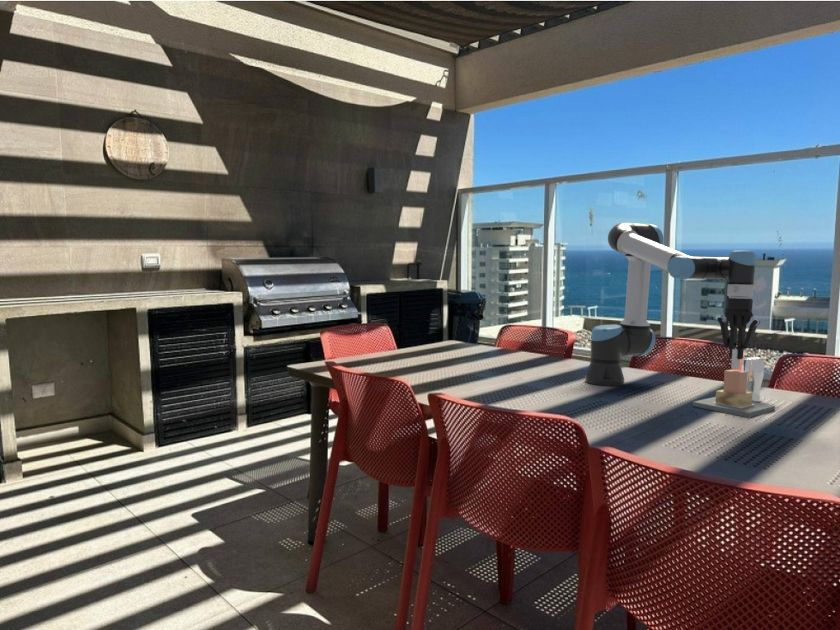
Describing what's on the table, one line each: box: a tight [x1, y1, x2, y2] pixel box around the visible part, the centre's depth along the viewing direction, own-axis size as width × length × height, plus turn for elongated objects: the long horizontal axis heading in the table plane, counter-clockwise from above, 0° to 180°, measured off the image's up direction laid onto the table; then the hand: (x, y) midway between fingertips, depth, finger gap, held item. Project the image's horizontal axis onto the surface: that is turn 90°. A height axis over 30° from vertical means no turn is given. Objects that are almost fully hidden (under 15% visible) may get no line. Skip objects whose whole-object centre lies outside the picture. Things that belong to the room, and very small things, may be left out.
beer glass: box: [740, 356, 765, 403], centre depth 202 cm, size 7×7×15 cm
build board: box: [692, 396, 776, 419], centre depth 189 cm, size 18×18×2 cm
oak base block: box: [715, 389, 752, 407], centre depth 189 cm, size 8×8×4 cm
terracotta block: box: [722, 369, 747, 394], centre depth 189 cm, size 5×5×7 cm
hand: (735, 368), depth 188 cm, fingers closed
